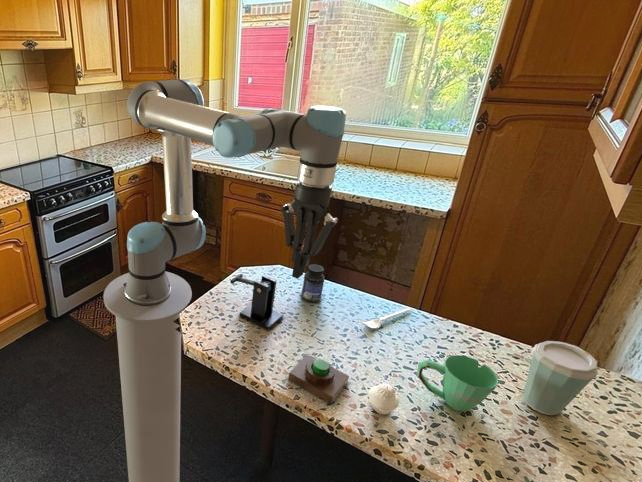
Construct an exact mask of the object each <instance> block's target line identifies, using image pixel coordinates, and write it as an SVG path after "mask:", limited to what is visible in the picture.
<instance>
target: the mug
mask: <svg viewBox="0 0 642 482" xmlns="http://www.w3.org/2000/svg"><path fill="white" fill-rule="evenodd" d="M424 369H431V370H435V371H437V372H439V373H441V374H443V377H442V389H440V388H438V387H437V386H435V385H433V384H432V383H430V382H429V381H428V379H427V378H426V377H425V375H424V373H423V371H424ZM416 376H417V378H418V379H419V380H420V381H421V383H422V385H423V386H424V387H425V388H426V390H427V391H429V392H430V393H432V394H434V395H435V396H437V397H439V398H440V399H442V400H443V401H444V402H445V404H446V405H447V406H448V407H450V408H451V409H452V410H454V411H456V412H461V413H467V412H468V411H470V410H472V409H474V408H476V407H477V406H479V404H481V403H482V402H483V401H485V400H486V398H488V396H489V395H491V393H492V392H494V391H495V390H496V388H497V386H498V385H499V384H500V383H499V377H498V375H497V374H496V372H495V371H494V370H493V369H492V368H491V367H489V366H488V365H486V364H483V365H481V366H479V360H478V359H475V358H473V357H469V356H467V355H466V356H465V355H458V354H457V355H451V356H448V357H446V359H445V360H444V363H443V364H441V363H439V362H436V361H434V360H430V359H424V360H421V361H419V362H418V364H417V371H416Z"/></svg>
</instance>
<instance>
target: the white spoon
mask: <svg viewBox="0 0 642 482" xmlns="http://www.w3.org/2000/svg"><path fill="white" fill-rule="evenodd" d="M407 312H411V308H405V309H402V310H400V311H396V312H394V313H391V314H389V315H385V316H383V317H380V318H375V319H374V318H373V319H371V320H368V321H361V323H363V324H364V325H365V326H367V327H368V328H370V329H379V328H381V326H382V323H383V322H385V321H388V320H390V319H393V318H395V317H398V316H400V315H402V314H405V313H407Z"/></svg>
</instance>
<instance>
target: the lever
mask: <svg viewBox="0 0 642 482" xmlns="http://www.w3.org/2000/svg"><path fill="white" fill-rule="evenodd" d="M254 281H255V280H252V279H249V278H244V275H243V274H242V273H239V274H238V275H236V276H234V277H233V278H232V279H231V280H229V282H230V284H232V285H233V284H235V283H237V282H239V283H241V284H245V285H250V286H253V287H254ZM259 282H261V283H263V284H266V285H268V286H269V291H270V290H271V282H268V281H264V280H262V281H261V280H260V281H259Z"/></svg>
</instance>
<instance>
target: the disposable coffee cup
mask: <svg viewBox="0 0 642 482" xmlns="http://www.w3.org/2000/svg"><path fill="white" fill-rule="evenodd" d="M531 354H532V357H531V359H530V360H531V361H530V366H529V370H528V373H527V376H526V381H525V385H524V389H523V393H522V397H523V401H524V403H525V404H526V405H527V406H528V407H529V408H531V409H532V410H534V411H536V412H538V413H540V414H542V415H546V416H555V415H558V414H560V413H561V412H563V410H564V409H566V408H567V406H568V405H569V404H570V403H571V402H572V401H573V400H574V399H575V398H576V397H577V396H578V395H579V394H580V393H581V392H582V390H584V389H585V388H586V386H588V385H589V383H590V382H592V381H593V380H594V379H596V378H597V377H598V376H597V375H598V369H599V367H598V361H597V360H596V358H595V357H594V356H593V355H592V354H590V353H589V352H587V351H586V350H584V349H582V348H580V347H579V346H577V345H574V344H570V343H567V342H563V341H555V340H545V341H543V342H540V343H537V344H534V346H533V347H532V350H531Z"/></svg>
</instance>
